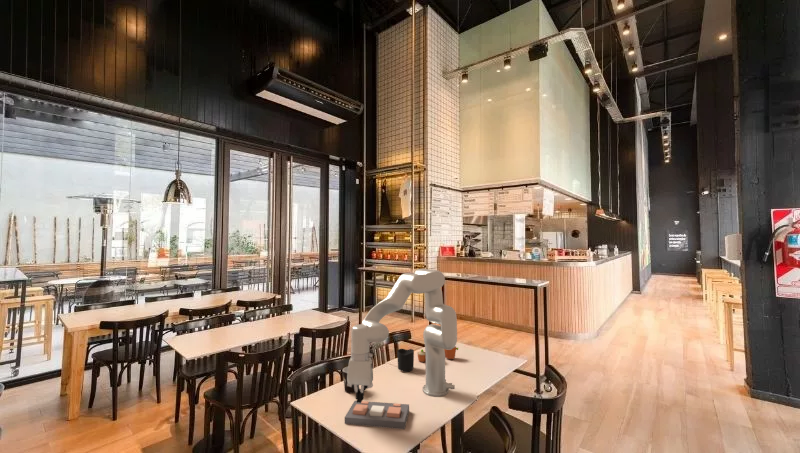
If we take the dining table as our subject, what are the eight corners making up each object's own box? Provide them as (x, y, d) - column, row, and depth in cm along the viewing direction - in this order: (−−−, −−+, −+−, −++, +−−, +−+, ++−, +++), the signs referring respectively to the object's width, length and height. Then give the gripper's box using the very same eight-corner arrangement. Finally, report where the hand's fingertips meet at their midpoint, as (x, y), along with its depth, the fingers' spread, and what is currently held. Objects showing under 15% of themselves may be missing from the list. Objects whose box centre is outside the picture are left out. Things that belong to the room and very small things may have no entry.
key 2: (401, 412, 140) (401, 407, 140) (399, 418, 135) (399, 413, 135) (389, 411, 141) (389, 406, 141) (386, 417, 136) (386, 412, 136)
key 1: (368, 409, 142) (367, 404, 142) (364, 416, 137) (364, 411, 137) (356, 408, 143) (356, 404, 143) (352, 415, 138) (352, 410, 138)
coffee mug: (343, 386, 170) (343, 366, 170) (360, 386, 171) (360, 365, 171) (341, 397, 158) (341, 375, 159) (359, 396, 159) (359, 375, 159)
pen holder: (404, 373, 186) (404, 354, 186) (394, 368, 193) (393, 350, 194) (417, 369, 192) (417, 351, 192) (406, 364, 199) (406, 347, 199)
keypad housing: (409, 411, 145) (409, 403, 146) (404, 430, 132) (404, 421, 132) (354, 407, 149) (354, 399, 149) (344, 425, 135) (344, 416, 135)
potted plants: (442, 350, 224) (442, 335, 224) (461, 357, 212) (460, 341, 212) (413, 360, 207) (412, 344, 207) (431, 367, 195) (431, 350, 195)
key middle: (384, 411, 141) (384, 406, 141) (381, 417, 136) (381, 412, 136) (372, 410, 142) (372, 405, 142) (369, 416, 137) (369, 411, 137)
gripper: (379, 353, 143) (379, 398, 143) (345, 351, 146) (345, 395, 145) (375, 360, 136) (375, 407, 135) (339, 357, 138) (339, 404, 137)
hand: (359, 401), depth 140 cm, fingers closed
